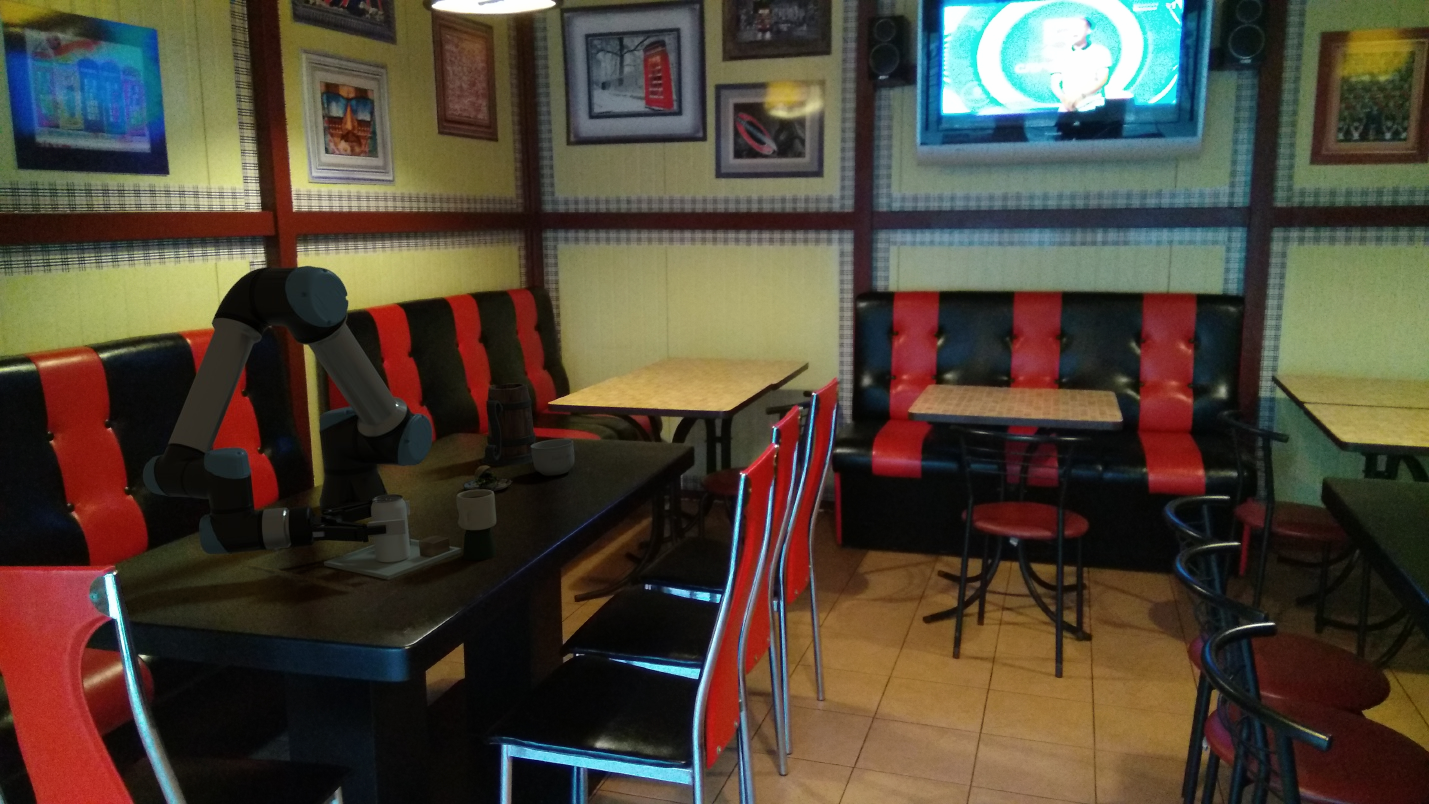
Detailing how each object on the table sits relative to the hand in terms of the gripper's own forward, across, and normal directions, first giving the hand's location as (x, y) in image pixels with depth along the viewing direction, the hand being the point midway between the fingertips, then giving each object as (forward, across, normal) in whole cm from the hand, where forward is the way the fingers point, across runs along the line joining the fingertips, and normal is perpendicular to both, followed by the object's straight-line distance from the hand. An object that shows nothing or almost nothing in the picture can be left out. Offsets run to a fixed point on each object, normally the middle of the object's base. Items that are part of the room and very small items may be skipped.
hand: (407, 516), depth 211 cm
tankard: (+21, -82, -9) cm, 85 cm away
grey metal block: (-3, -8, -8) cm, 12 cm away
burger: (+15, -52, -9) cm, 55 cm away
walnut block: (+4, 0, -8) cm, 9 cm away
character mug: (+13, +4, -9) cm, 16 cm away
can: (-3, 0, -8) cm, 9 cm away
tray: (-3, 0, -9) cm, 9 cm away
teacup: (+33, -64, -9) cm, 73 cm away
